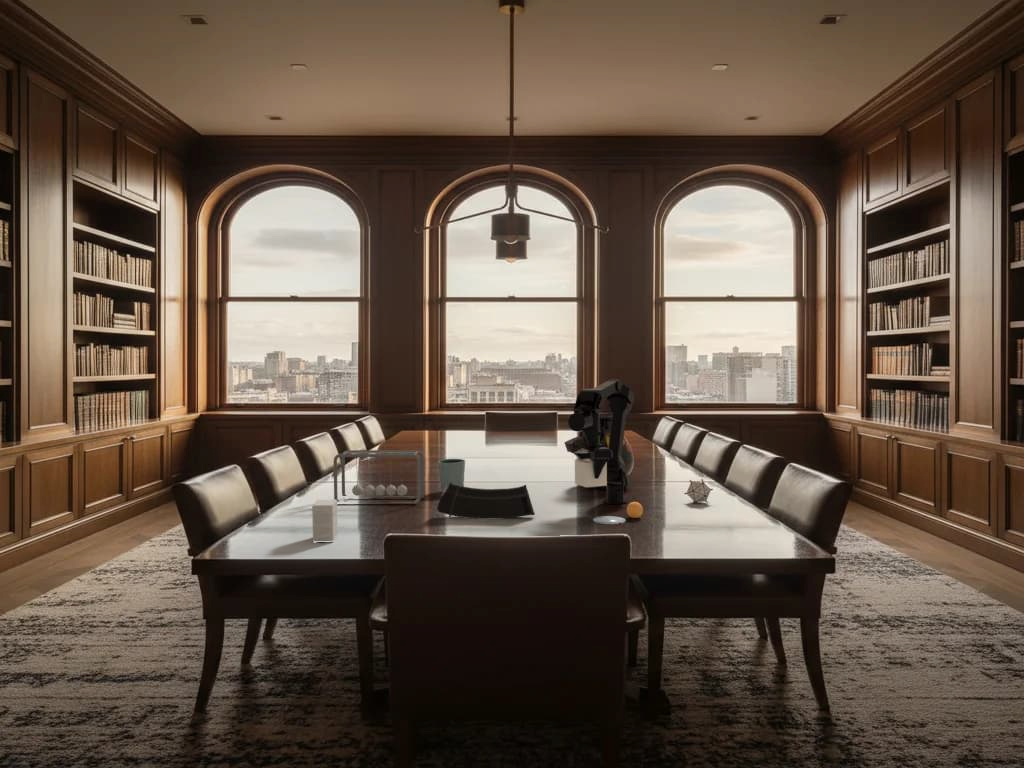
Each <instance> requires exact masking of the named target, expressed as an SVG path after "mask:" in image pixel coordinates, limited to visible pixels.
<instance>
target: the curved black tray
mask: <svg viewBox="0 0 1024 768" xmlns="http://www.w3.org/2000/svg"><path fill="white" fill-rule="evenodd" d="M528 490H529V489H528V488H527V485H526V484H524V485H521V486H517V487H512V488H511V487H510V488H491V489H490V488H475V487H468V486H464V487H463V486H459V485H454V484H452V483H451V482H450V484H449V486H448V488H447V485H446V487H445V489H444V492H443V494H442V493H441V495H440V497H439V501H438V505H437V507H436V510H437V512H439V513H442V514H443V515H444V514H445V515H447V516H448V518H449V517H450V518H451V517H453V516H454V517H460V518H465V517H468V518H467V519H469V518H470V519H477V518H503V519H511V518H512V519H513V518H520V517H526V516H527V517H528V516H535V514H536V513H535V511H534V508H533V504H532V500H531V497H530V494H529V491H528Z"/></svg>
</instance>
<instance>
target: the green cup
mask: <svg viewBox="0 0 1024 768" xmlns="http://www.w3.org/2000/svg"><path fill="white" fill-rule="evenodd" d="M437 465H438V473H439V483H440V493H441V492H444V489H445V487H446V485H447V488H448V486H449V484H450V482H451V483H452V484H454V485H459V486H463V487H465V483H464V482H465V470H466V460H465V459H462V458H445V459H444V458H443V459H441V460H438V461H437Z"/></svg>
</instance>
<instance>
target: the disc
mask: <svg viewBox="0 0 1024 768" xmlns="http://www.w3.org/2000/svg"><path fill="white" fill-rule="evenodd" d="M592 520H593V522H594V523H597V524H602V525H619V523H621V524H624V523H626V522H625V521H627V520H626V519H625V518H624V517H622V516H621V517H620V516H612V515H605V516H604V515H603V516H596V517H594V518H593V519H592Z"/></svg>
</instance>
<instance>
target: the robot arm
mask: <svg viewBox="0 0 1024 768" xmlns="http://www.w3.org/2000/svg"><path fill="white" fill-rule="evenodd" d="M605 399H606V400H607V401H608V407H609V410H610V412H611V414H612V422H611V430H610V439H609V447H608V448H606V447H602V444H600V435H602V432H600V424H599V414H602V410H601V407H602V405H603V404H604V402H605V401H604V400H605ZM634 402H635V395H634V393H633V392H632V389H631V388H629V387H628V386H626V385H625V384H623V383H622V380H619V379H607V380H605V382H603V383H601V384H599V385H597V386H596V387H594V388H583V389H582V388H581V389H580V390H579V393H578V394H577V397H576V400H575V404H574V406H573V410H572V411H573V413H572V414H571V415H570V416H569V417H568V421H567V423H568V427H569V429H571V430H572V431H574V432H578V435H577V436H576V437H573V438H570V439H568V440H566V441H564V445H565V449H566V451H567V452H568V453H571V454H573V455H574V456H576V457H577V459H578V458H579V459H590V460H591V461H592V462H593V469H594V477H595V479H598V478H599V476H600V474H601V472H602V469H603V467H604V465H605V464H606V462H607V486H606V489H605V490H606V495H605V496H606V498H605V499H602V502H605V503H607V504H609V505H617V504H618V505H619V504H628V500H624V498H625V497H624V495H625V494H624V492H625V491H624V488H625V487H628V486H629V484H630V478H629V475H627V473H626V470H625V464H624V461H623V459H622V448H623V439H624V437H625V428H626V421H627V420H626V419H627V416H628V414H629V413H630V412H631V411H632V409H633V404H634ZM624 486H625V487H624Z"/></svg>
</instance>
